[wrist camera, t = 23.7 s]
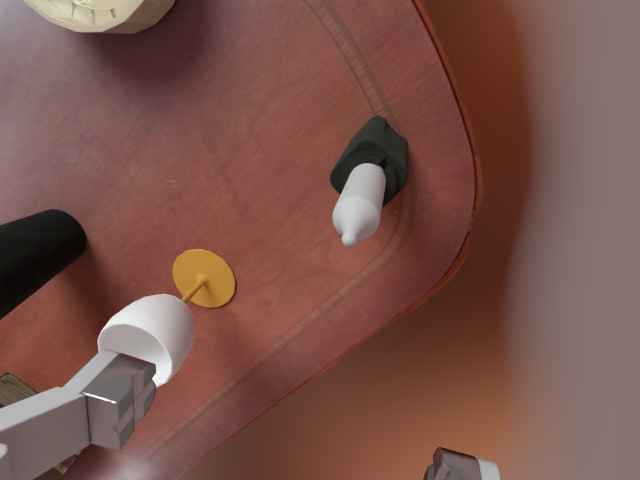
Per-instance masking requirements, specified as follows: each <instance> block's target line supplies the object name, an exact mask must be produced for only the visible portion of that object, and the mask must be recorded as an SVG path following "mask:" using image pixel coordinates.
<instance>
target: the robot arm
mask: <svg viewBox="0 0 640 480" xmlns="http://www.w3.org/2000/svg"><path fill="white" fill-rule="evenodd" d="M155 374H156V364H154V363H151V362H148V361H145V360H142V359H139V358H136V357H133V356H130V355H127V354H123V353H120V352H117V351H113V350H110V349H107V348H105V349H103V350H101V351H99V352H98V353H97V354H96V355H95V356H94V357H93V358H92V359H91V360H90V361H89V362H88V363H87V364H86V365H85V366H84V367H83V368H82V369H81V370H80V371H79V372H78V373H77V374H76V375H75V376H74V377H73V378H72V379H71V380H70V381H69V382H68V383H67V384H66V385H65V386H64V387H63V388H61V387H55V388H52V389H50V390H47V391H44V392H42V393H39V394H37V395H34V396H32V397H29V398H26V399H24V400H21V401H19V402H16V403H13V404H11V405H8V406H6V407H3V408H1V409H0V480H33V479H34V478H36V477H38V476H39V475H41V474H42V473H44V472H46V471H47V470H49V469H51V468H52V467H54V466H56V465H57V464H59V463H61V462H62V461H64V460H66V459H67V458H69V457H70V456H72V455H74V454H75V453H77V452H79V451H80V450H82V449H84V448H85V447H87V446H89V445H90V443H92V444H95V445H99V446H103V447H106V448H110V449H113V450H117V451H120V450H121V448H122V447H123V445H124V444H125V443H126V441H127V440H128V439H129V437H130V436H131V434H132V433H133V432H134V422H136V421H138V420H140V419H142V418H144V416H145V415H146V413H147V412H148V410H149V409H150V407H151V404H152V402H153V400H154V397H155V392H156V384H155V383H154V381H153V380H152V378H153V377H154V375H155ZM423 480H501V478H500V474H499V470H498V466H497V465H496V463H494V462H490V461H487V460H483V459H480V458H475V457H473V456H470V455H467V454H463V453H460V452H456V451H453V450H449V449H445V448H442V447H438V448H437V449H436V450H435V452H434V455H433V464H432V465H430V466H428V468H427V470H426V473H425V475H424V479H423Z"/></svg>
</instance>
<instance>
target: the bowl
mask: <svg viewBox="0 0 640 480" xmlns="http://www.w3.org/2000/svg"><path fill="white" fill-rule="evenodd" d="M23 1H24V2H25V3H26V4H27V5H28V6H29V7H31V8H32V9H33V10H35V11H36V12H37V13H39V14H40V15H41V16H43V17H44V18H45V19H47V20H48V21H49V22H51V23H53V24H55V25H58V26H61V27H64V28H66V29H69V30H72V31H75V32H78V33H98V34H135V33H137V32H139V31H142V30H144V29H146V28H148V27H151V26H153V25H155V24H156V23H157V22H158V21H159V20H160V19H161V18H162V17H163V16H164V15H165V14H166V13H167V12H168V10H169V9H170V8H171V7H172V6H173V4H174V2H175V0H23Z"/></svg>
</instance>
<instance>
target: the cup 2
mask: <svg viewBox="0 0 640 480" xmlns="http://www.w3.org/2000/svg"><path fill="white" fill-rule="evenodd" d="M173 279H174V281H175V284H176V286H177V289H178V290H179V291H180V292H181V293H182V294H183V296H184V297H183V298H182V299H181V300H180V299H179V298H177V297H175V296H171V295H168V294H159V295H152V296H147V297H144V298H141V299H139V300H137V301H135V302H133V303H131V304H130V305H128V306H127V307H125V308H124V309H122V310H121V311H120V312H118V313H117V314H116V315H114V316H113V317H112V318H111V319H110V320H109V321H108V323H107V324H106V325H105V327H104V328H103V329H102V331H101V333H100V335H99V338H98V340H97V341H98V352H99V351H101V350H103V349H105V348H107V349H110V350H113V351H117V352H120V353H123V354H127V355H130V356H133V357H136V358H139V359H142V360H145V361H148V362H151V363H154V364H156V374H155V375H154V377H153V378H152V380H153V381H154V383H155V384H156V388H157V387H159V386H161V385H163V384H165V383H167V382H168V381H169V380H170V379H171V378H172V377H173V376H174V375H175V374H176V373H177V372H178V371H179V369H180V368H181V366H182V365H183V363H184V361H185V360H186V358H187V356H188V354H189V353H190V351H191V348H192V345H193V342H194V339H195V318H194V315H193V312H192V310H191V309H190V308H189V307H188V306H187V303H188V302H189V300H190V301H191V302H193V303H194V304H196V305H199V306H203V307H207V308H212V307H220V306H222V305H224V304H225V303H227V302H229V301H230V299H231V297H232V296H233V294H234V293H235V284H236V281H235V278H234V275H233V272H232V269H231V268H230V267H229V266H228V264H227V263H226V262H225V261H224V259H222V258H221V257H219V256H218V255H216V254H214V253H213V252H210V251H206V250H202V249H193V250H187V251H185V252H184V253H182V254H181V255H179V256H178V257H177V259H176V261H175V263H174V265H173Z"/></svg>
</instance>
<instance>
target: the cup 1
mask: <svg viewBox="0 0 640 480" xmlns="http://www.w3.org/2000/svg"><path fill="white" fill-rule="evenodd" d="M85 249H86V236H85V233H84V231H83V229H82V227H81V225H80V224H79V223H78V222H77V221H76V220H75V219H74V218H73V217H72V216H71V215H69V214H67V213H66V212H63V211H60V210H55V209H52V210H47V211H43V212H40V213H37V214H34V215H31V216H28V217H25V218H22V219H18V220H15V221H12V222H9V223H6V224H3V225H0V320H1V319H2V318H3V317H5V316H6V315H7V314H8V313H10V312H11V311H12V310H13V309H15V308H16V307H17V306H18V305H20V304H21V303H22V302H23V301H25V300H26V299H27V298H28V297H30V296H31V295H32V294H33V293H35V292H36V291H37V290H38V289H40V288H41V287H42V286H43V285H45V284H46V283H47V282H48V281H49V280H51V279H52V278H53V277H54V276H56V275H57V274H58V273H59V272H61V271H62V270H63V269H64V268H66V267H67V266H68V265H69V264H71V263H72V262H73V261H74V260H76V259H77V258H78V257H79V256H81V255H82V254H83V253H84V251H85Z"/></svg>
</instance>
